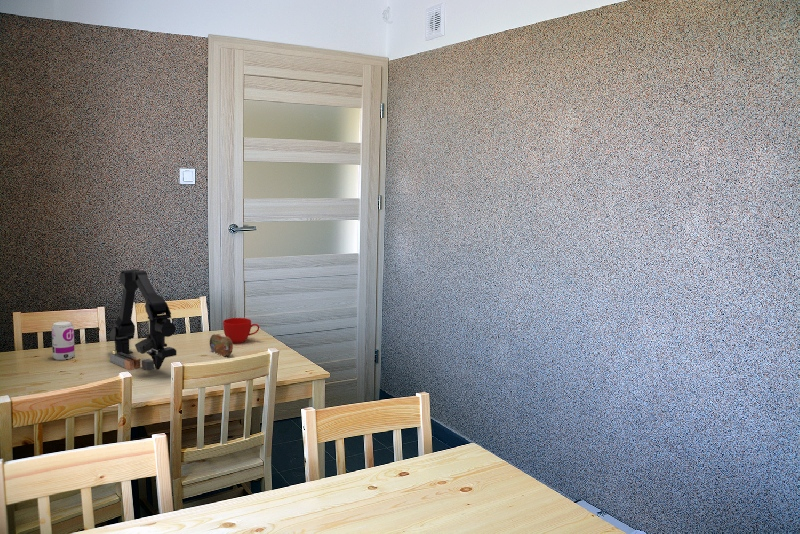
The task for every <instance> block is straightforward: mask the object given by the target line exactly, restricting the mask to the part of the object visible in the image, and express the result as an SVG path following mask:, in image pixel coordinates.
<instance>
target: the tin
mask: <svg viewBox="0 0 800 534" xmlns="http://www.w3.org/2000/svg"><path fill="white" fill-rule="evenodd" d="M233 347H234V343H232V340H231V339H230V338H229V337H226V336H225V335H222V334H215V333H213V334H212V335H211V336H210V339H209V348H210V350H211V351H212V353H213V352H215V353H214V354H216V353H218V354H217V355H219V354H220V355H219V356H221V355H222V357H227V356H230V355H232V353H233Z"/></svg>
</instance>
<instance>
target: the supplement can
mask: <svg viewBox="0 0 800 534" xmlns="http://www.w3.org/2000/svg"><path fill="white" fill-rule="evenodd" d="M51 344H52V345H51V347H52V358H53V359H54V360H56V361H67V360H66V359H68V360H71V359H73V358H74V357H75V355H76V352H75V351H76V350H75V327H74V325H73V322H72V321H67V320H64V321H56V322H54V323H52V326H51ZM72 357H73V358H72ZM70 358H71V359H70Z"/></svg>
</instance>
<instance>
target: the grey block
mask: <svg viewBox="0 0 800 534" xmlns="http://www.w3.org/2000/svg"><path fill="white" fill-rule="evenodd" d="M141 368H142V369H144V370H146V371H149V370H153V369H155V365H154V362H153V359H150V358H146V359H142V360H141Z"/></svg>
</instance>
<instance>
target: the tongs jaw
mask: <svg viewBox="0 0 800 534" xmlns="http://www.w3.org/2000/svg"><path fill="white" fill-rule="evenodd" d="M117 354H118V355H121V356H123V357H126V358H128V359H131V360H133V361H134V369H138V368H141V358H139V357H135V356H134V355H130V354H129V353H128V354H125V353H123V352H119V353H117Z"/></svg>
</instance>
